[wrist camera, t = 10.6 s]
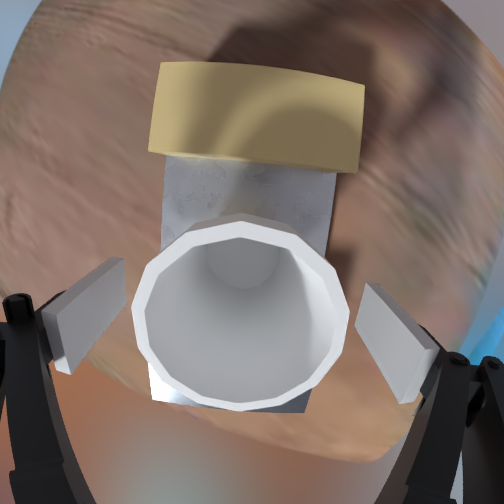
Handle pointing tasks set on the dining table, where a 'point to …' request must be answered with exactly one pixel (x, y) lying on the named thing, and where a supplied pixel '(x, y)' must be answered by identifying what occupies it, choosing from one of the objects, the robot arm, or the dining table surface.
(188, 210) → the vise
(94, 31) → the dining table surface
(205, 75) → the block
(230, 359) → the foam cup
